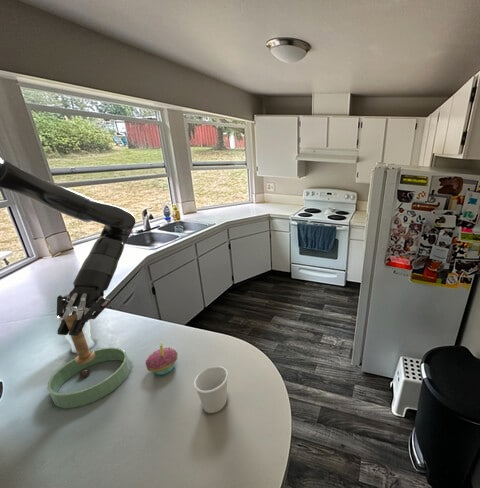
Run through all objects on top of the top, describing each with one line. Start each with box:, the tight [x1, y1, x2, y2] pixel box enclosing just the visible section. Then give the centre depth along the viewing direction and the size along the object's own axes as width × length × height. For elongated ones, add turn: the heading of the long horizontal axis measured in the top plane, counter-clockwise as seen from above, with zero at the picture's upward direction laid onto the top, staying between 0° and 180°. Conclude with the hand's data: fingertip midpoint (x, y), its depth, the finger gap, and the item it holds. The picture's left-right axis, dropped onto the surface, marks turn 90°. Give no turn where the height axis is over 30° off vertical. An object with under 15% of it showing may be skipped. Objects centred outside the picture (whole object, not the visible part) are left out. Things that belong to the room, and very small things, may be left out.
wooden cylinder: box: [65, 314, 95, 364], centre depth 68 cm, size 4×4×14 cm
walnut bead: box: [78, 368, 91, 379], centre depth 76 cm, size 2×2×2 cm
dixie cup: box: [193, 365, 229, 414], centre depth 68 cm, size 8×8×10 cm
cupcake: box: [145, 343, 179, 376], centre depth 78 cm, size 9×8×12 cm
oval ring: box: [46, 347, 131, 409], centre depth 74 cm, size 17×17×6 cm
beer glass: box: [56, 307, 95, 354], centre depth 85 cm, size 7×7×15 cm
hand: (67, 334), depth 65 cm, fingers closed on wooden cylinder, 2 cm apart
